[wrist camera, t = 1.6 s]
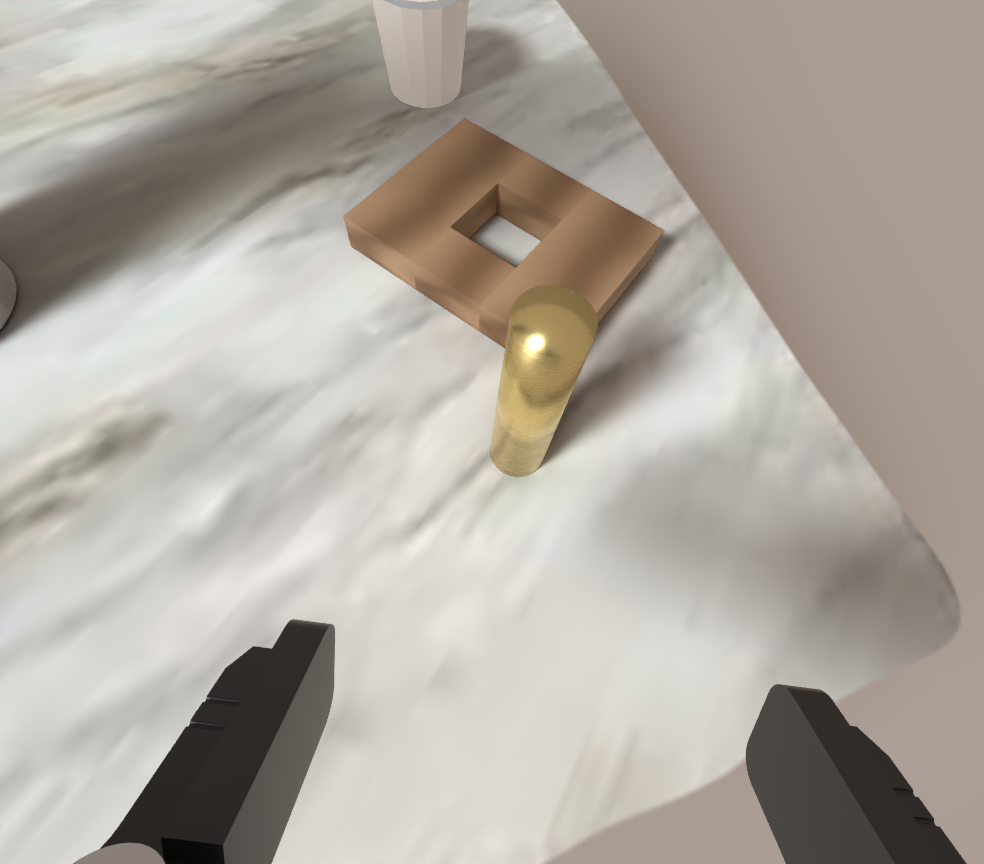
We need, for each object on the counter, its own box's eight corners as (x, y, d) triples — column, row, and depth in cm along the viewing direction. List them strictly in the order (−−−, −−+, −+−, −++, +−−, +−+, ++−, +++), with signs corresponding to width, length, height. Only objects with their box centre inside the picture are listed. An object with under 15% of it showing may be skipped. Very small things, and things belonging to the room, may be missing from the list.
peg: (479, 455, 28) (492, 325, 17) (511, 416, 29) (542, 271, 18) (523, 487, 27) (566, 373, 17) (554, 446, 29) (614, 314, 18)
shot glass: (452, 122, 39) (451, 17, 33) (368, 100, 39) (350, -8, 33) (480, 70, 42) (483, -36, 35) (400, 50, 42) (390, -59, 36)
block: (351, 246, 33) (343, 216, 31) (464, 150, 38) (464, 118, 36) (552, 379, 30) (560, 356, 28) (650, 258, 35) (664, 230, 32)
